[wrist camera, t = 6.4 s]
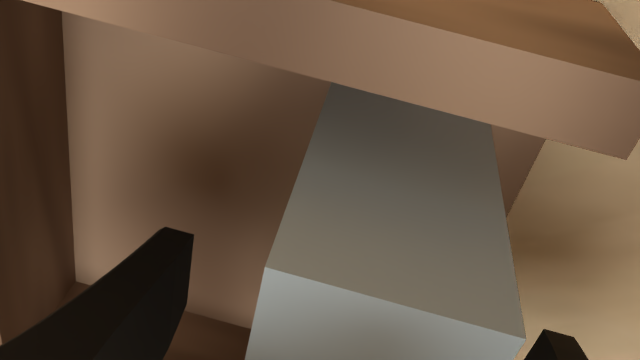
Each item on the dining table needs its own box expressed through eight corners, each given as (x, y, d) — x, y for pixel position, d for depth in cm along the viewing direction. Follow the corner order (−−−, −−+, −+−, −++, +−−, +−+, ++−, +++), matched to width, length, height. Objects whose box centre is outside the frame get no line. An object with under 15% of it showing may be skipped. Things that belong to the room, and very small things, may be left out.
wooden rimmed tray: (602, 3, 11) (696, 122, 7) (413, 386, 18) (407, 555, 14) (12, -150, 12) (-221, -118, 7) (51, 286, 19) (-58, 425, 15)
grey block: (519, 130, 12) (575, 353, 8) (419, 340, 16) (412, 575, 11) (332, 79, 12) (265, 266, 8) (277, 300, 16) (210, 517, 12)
